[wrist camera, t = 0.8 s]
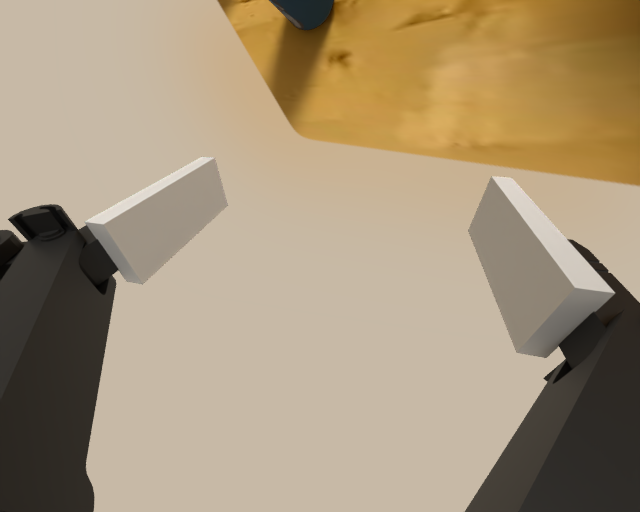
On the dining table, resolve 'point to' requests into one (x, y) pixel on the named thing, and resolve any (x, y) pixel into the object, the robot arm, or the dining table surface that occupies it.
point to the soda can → (304, 11)
